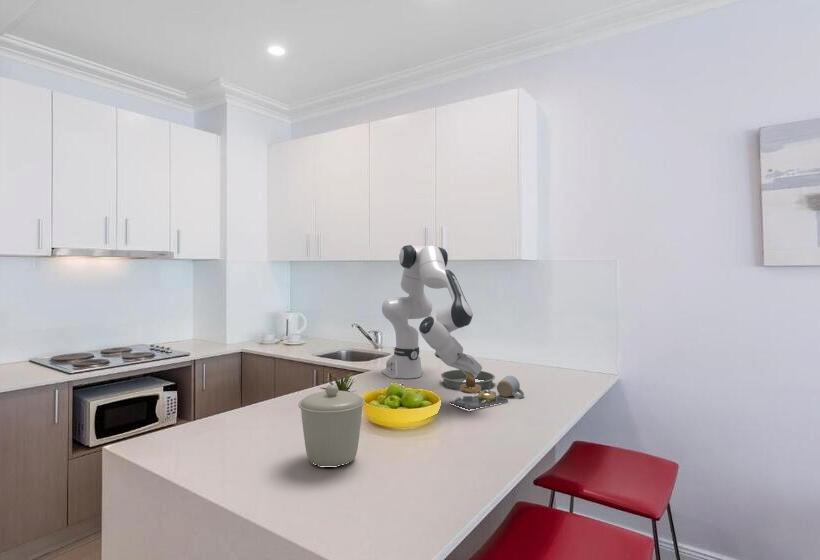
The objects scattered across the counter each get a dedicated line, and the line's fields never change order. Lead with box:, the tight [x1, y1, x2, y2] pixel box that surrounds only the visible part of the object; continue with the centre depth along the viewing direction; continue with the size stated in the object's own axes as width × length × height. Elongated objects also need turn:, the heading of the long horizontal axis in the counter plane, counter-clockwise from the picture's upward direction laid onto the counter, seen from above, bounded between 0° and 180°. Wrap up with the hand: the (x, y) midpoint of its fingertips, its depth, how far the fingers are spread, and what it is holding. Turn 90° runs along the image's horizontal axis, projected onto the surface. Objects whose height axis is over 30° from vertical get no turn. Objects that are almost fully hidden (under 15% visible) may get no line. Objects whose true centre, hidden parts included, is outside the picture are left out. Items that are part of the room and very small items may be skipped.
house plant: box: [320, 372, 356, 393], centre depth 165 cm, size 14×14×16 cm
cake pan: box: [440, 369, 496, 390], centre depth 212 cm, size 25×25×4 cm
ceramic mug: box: [496, 375, 525, 399], centre depth 193 cm, size 11×8×8 cm
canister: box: [298, 384, 366, 466], centre depth 128 cm, size 18×18×21 cm
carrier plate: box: [448, 388, 509, 410], centre depth 182 cm, size 12×21×5 cm, turn 125°
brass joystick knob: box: [459, 372, 482, 395], centre depth 179 cm, size 8×8×10 cm
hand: (471, 374), depth 180 cm, fingers closed on brass joystick knob, 4 cm apart
